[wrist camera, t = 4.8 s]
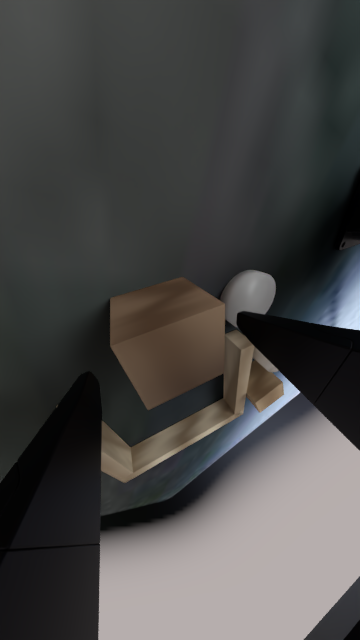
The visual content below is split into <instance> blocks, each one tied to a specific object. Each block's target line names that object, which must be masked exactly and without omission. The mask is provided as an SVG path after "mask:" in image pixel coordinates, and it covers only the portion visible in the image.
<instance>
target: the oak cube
mask: <svg viewBox="0 0 360 640" xmlns="http://www.w3.org/2000/svg"><path fill="white" fill-rule="evenodd" d="M282 395H284V391H283V382H282V381H281V380H280V379H278V378H277V377H276V376H275V375H274V374H273V373H272V372H268V371H267V370H266V369H265V368H264V367H263V366H262V365H260V364H259V363H258V362H257V361H256V360H254V361H253V362H252V363H251V369H250V375H249V381H248V387H247V392H246V397H247V398H248V399H249V400H250V401H251V403H252V404H253V405H254V406H255V408H256V409H257V410H258V411H259V412H261V411H263V410H264V409H265V408H267V407H268V406H269V405H271V404H272V403H273V402H275V401H276V400H277V399H279V398H280V397H281V396H282Z"/></svg>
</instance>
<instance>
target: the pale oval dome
mask: <svg viewBox="0 0 360 640" xmlns="http://www.w3.org/2000/svg"><path fill="white" fill-rule="evenodd" d="M244 336H245V335H244ZM245 337H246V336H245ZM253 358H254V359H255V360H256V361H257V362H258V363H259V364H260V365H262V366H263V367H264V368H265V369H266V370H267V371H268V372H276V371H279V370H278V369H277V368H276V367H275V366H274V365H273V364H272V363H271V362H270V361H269V360H268V359H267V358H266V357H265V356H264V355H263V354H262V353H261V352H260V351H259V350H258V349H257V348H256V347H255V346H254V351H253Z"/></svg>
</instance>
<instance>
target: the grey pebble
mask: <svg viewBox="0 0 360 640" xmlns="http://www.w3.org/2000/svg"><path fill="white" fill-rule="evenodd" d="M275 292H276V284H275V281H274V279H273V277H272V276H271V275H269V274H267V273H263V272H259V271H256V270H245V271H243V272H240V273H239V274H237V275H236V276H234V277H233V278H232V279H231V280H230V281H229V283H228V284H227V285H226V287H225V288H224V290H223V292H222V295H221V298H220V301H221V302H223V303H224V304H225V319H226V320H227V321H228V322H229V323H231V324H232V325H233V326H235V327H238V326H237V324H236V320H237V313H239V312H241V311H248V312H253V313H259V314H265V313H266V312H267V311H268V309H269V308H270V306H271V304H272V302H273V299H274V296H275Z"/></svg>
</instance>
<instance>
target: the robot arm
mask: <svg viewBox="0 0 360 640" xmlns="http://www.w3.org/2000/svg"><path fill="white" fill-rule="evenodd" d="M358 244H360V183H359V185H358V188H357V190H356V193H355V196H354V198H353V201H352V203H351V206H350V208H349V211H348V214H347V216H346V219H345V221H344V224H343V226H342V229H341V232H340V234H339V237H338V239H337V242H336V244H335V250H343V249H346V248H349V247H352V246H355V245H358ZM236 324H237V326H238V328H239V329H240V330H241V331H242V333H243V334H244V335H245V336H246V337H247V339H248V340H249V341H250V342H251V343H252V344H253V345H254V346H255V347H256V348H257V349H258V350H259V351H260V352H261V353H262V354H263V355H264V356H265V357H266V358H267V359H268V360H269V361H270V362H271V363H272V364H273V365H274V366H275V367H276V368H277V369H278V370H279V371H280V372H281V373H282V374H283V375H284V376H285V377H286V378H287V379H288V380H289V381H290V382H291V383H292V384H293V385H294V386H295V387H296V388H297V389H298V390H299V391H300V392H301V393H302V394H303V395H304V396H305V397H306V398H307V399H308V400H309V401H310V402H311V403H312V404H313V405H314V406H315V407H316V408H317V409H318V410H319V411H320V412H321V413H322V414H323V415H324V416H325V417H326V418H327V419H328V420H329V421H330V422H331V423H332V424H333V425H334V426H336V428H337V429H338V430H339V431H340V432H341V433H343V435H344V436H345V437H346V438H347V439H348V440H350V442H351V443H352V444H353V445H355V446H356V448H358V449H359V450H360V330H353V329H346V328H339V327H332V326H326V325H320V324H314V323H309V322H303V321H298V320H292V319H287V318H281V317H276V316H270V315H265V314H259V313H253V312H248V311H241V312H239V313H237V320H236ZM101 449H102V406H101V397H100V387H99V382H98V380H97V379H96V377H95V376H94V375H93V374H92V372H90V371H88V372H85V373H83V374H81V375H80V376H79V377H78V379H77V380H76V381H75V383H74V384H73V385H72V387H71V388H70V389H69V391H68V392H67V394H66V395H65V396H64V398H63V399H62V400H61V402H60V403H59V404H58V406H57V407H56V408H55V410H54V411H53V413H52V414H51V415H50V417H49V418H48V419H47V421H46V422H45V423H44V425H43V426H42V427H41V429H40V430H39V432H38V433H37V434H36V436H35V437H34V438H33V440H32V441H31V442H30V444H29V445H28V446H27V448H26V449H25V451H24V452H23V453H22V455H21V456H20V457H19V459H18V460H17V462H16V463H15V464H14V465H13V467H12V468H11V469H10V471H9V472H8V473H7V475H6V476H5V478H4V479H3V480H2V481H1V483H0V640H98V622H99V567H100V565H99V564H100V544H99V543H100V504H101ZM304 640H360V577H359V578H358V579H357V580H356V581H355V582H354V583H353V585H352V586H351V587H350V588H349V589H348V590H347V591H346V593H345V594H344V595H343V596H342V597H341V598H340V599H339V600H338V602H337V603H336V604H335V605H334V606H333V607H332V608H331V609H330V611H329V612H328V613H327V614H326V615H325V616H324V617H323V618H322V620H321V621H320V622H319V623H318V624H317V625H316V626H315V628H314V629H313V630H312V631H311V632H310V633H309V634H308V635H307V637H306V638H305V639H304Z"/></svg>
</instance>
